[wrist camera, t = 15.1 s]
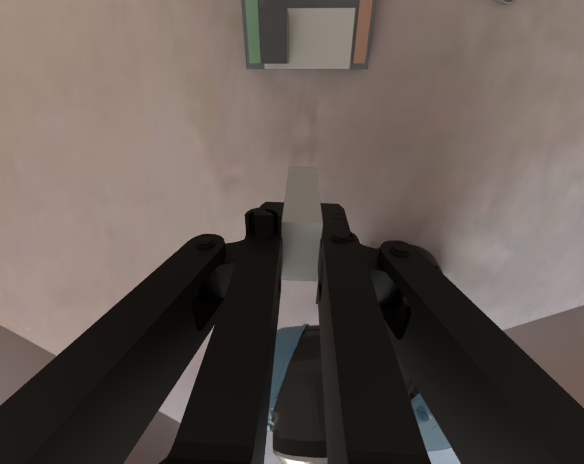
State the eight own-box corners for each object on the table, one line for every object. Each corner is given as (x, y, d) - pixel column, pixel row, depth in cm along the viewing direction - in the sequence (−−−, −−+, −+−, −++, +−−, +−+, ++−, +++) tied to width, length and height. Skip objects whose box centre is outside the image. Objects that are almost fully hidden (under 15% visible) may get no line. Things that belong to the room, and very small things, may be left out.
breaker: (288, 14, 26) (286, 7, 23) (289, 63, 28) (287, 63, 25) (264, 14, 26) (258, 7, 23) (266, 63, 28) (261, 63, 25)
